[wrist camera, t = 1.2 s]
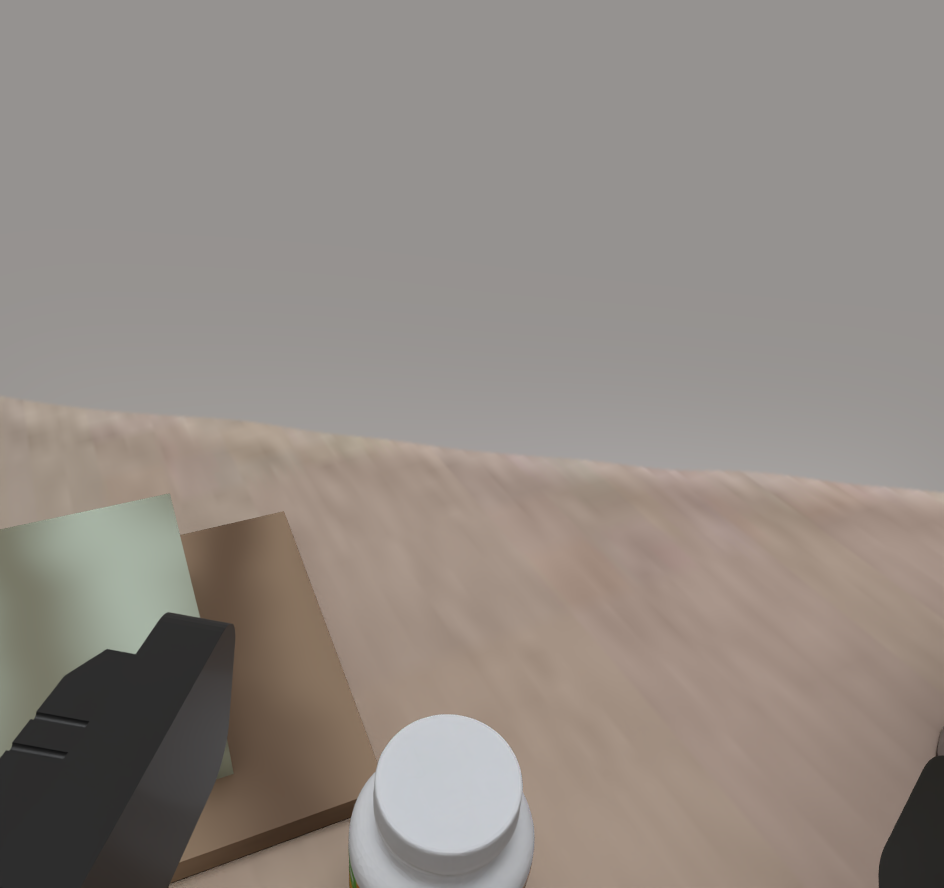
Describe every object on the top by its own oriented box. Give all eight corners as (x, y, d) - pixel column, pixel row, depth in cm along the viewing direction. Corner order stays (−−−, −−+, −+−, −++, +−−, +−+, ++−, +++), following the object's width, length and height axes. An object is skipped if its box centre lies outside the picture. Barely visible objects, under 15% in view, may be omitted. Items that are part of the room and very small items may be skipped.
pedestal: (285, 528, 42) (277, 431, 38) (386, 804, 32) (389, 711, 28) (-199, 643, 35) (-271, 539, 31) (-265, 1042, 25) (-383, 963, 21)
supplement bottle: (325, 885, 30) (316, 733, 24) (464, 820, 32) (489, 665, 26) (388, 1051, 26) (396, 923, 20) (538, 965, 29) (588, 826, 22)
